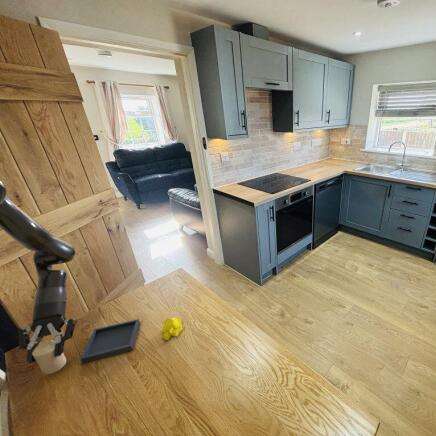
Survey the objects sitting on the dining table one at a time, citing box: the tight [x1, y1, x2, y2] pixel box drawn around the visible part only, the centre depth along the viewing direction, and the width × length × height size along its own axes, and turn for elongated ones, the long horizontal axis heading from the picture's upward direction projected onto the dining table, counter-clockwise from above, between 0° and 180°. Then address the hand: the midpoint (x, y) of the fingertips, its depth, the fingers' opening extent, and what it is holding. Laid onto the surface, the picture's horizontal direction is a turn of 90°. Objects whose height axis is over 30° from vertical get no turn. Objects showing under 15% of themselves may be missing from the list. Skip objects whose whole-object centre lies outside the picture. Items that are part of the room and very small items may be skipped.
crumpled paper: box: [160, 317, 184, 341], centre depth 90 cm, size 6×8×8 cm
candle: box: [32, 339, 67, 375], centre depth 75 cm, size 6×6×10 cm
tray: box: [80, 318, 141, 364], centre depth 86 cm, size 15×13×2 cm
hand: (45, 359), depth 73 cm, fingers closed on candle, 5 cm apart
